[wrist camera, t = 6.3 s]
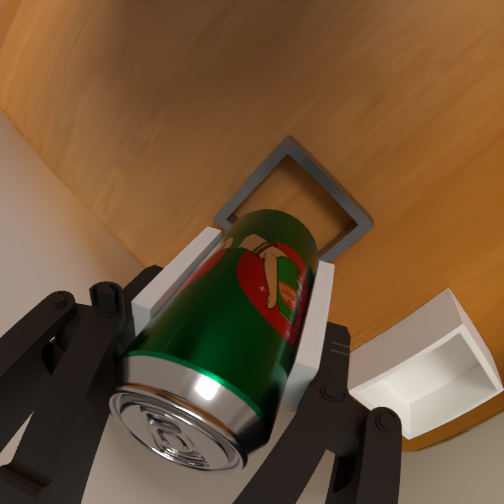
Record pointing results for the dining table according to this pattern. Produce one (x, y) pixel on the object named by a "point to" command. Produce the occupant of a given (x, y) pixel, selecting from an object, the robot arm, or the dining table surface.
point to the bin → (425, 367)
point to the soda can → (220, 349)
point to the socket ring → (324, 178)
